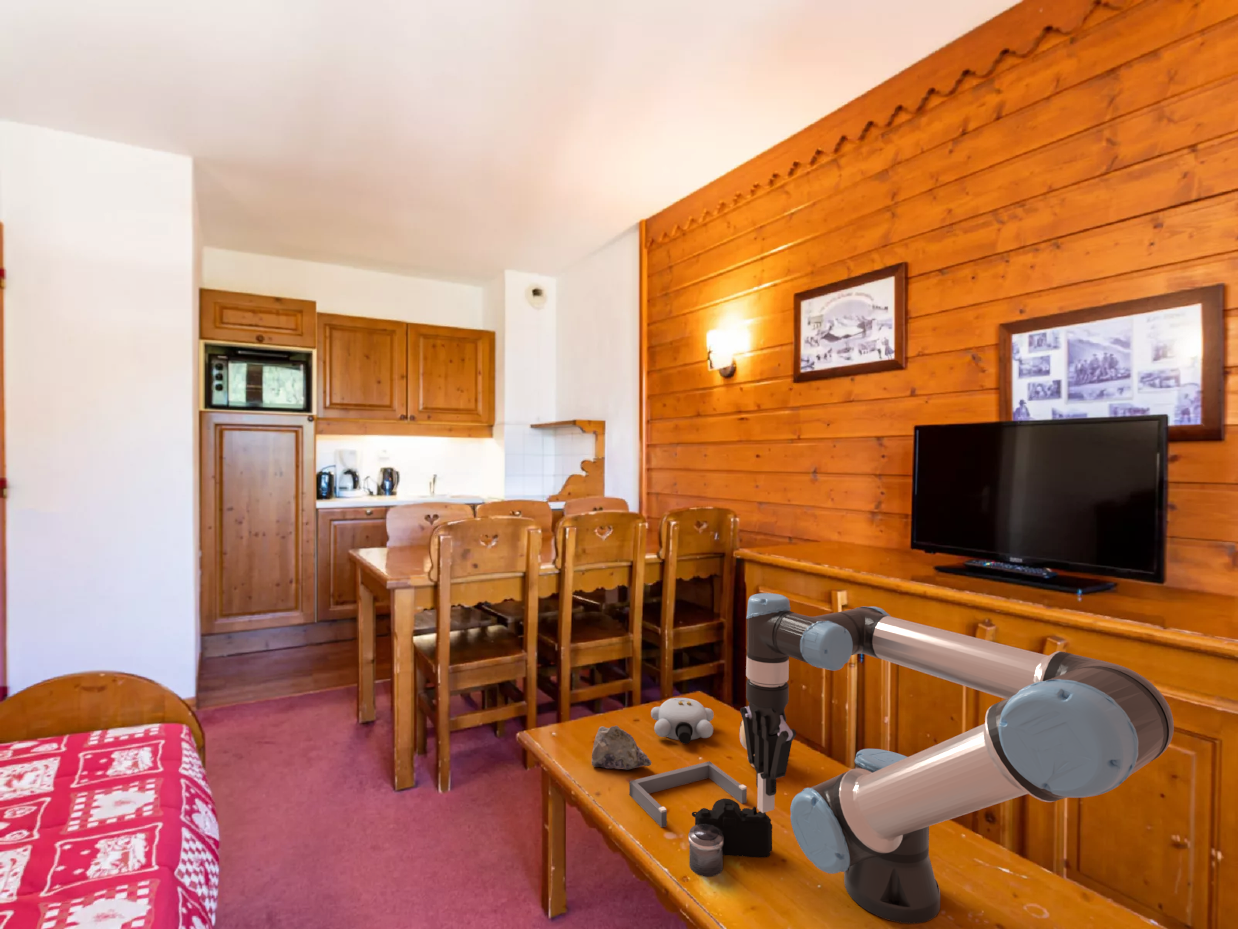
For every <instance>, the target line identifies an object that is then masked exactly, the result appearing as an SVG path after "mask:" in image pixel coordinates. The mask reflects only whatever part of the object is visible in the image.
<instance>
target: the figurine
mask: <svg viewBox="0 0 1238 929" xmlns="http://www.w3.org/2000/svg"><path fill="white" fill-rule="evenodd" d="M714 714H715V713H714V711H713V710H712V709H711V708H710V707H709V708H708V707H704V705H703V704H702V703H701V702H699V701H697V700H696V699H692V698H688V697H675V698H674V697H673V698H668V699H667V700H665V701H664V702H663V703H661V705H660V706H655V707H652V708H651V711H650V717H651V718H652V719H653V720H655V721H656V722H655V724H654V729H653V730H654V732H655V734H656V735H657V736H658V737H662V738H665V737H667V738H669V739H672V740H676V741H679V742H680V743H681V744H682V745H687V744H689V743H690V742H691V741H695V740H697V739H699V738H702V739H708V738H710V737H711V736H713V733H714V726H713V725H712V723H711V721H712V720H713V719H714V716H715V715H714Z"/></svg>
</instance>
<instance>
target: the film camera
mask: <svg viewBox="0 0 1238 929" xmlns="http://www.w3.org/2000/svg"><path fill="white" fill-rule="evenodd" d="M691 816H692V817H694V826H695V825H698V824H710V825H713V826H716V827H717V828H719V829H720V830H721V831H722V834H723V837H724V844H723V856H729V857H740V858H741V857H744V858H746V857H747V858H768V857H769V856H770V855H771V852H772V851H773V824H772V819H771V818H770V817H769V815H767V812H764V813H762V812H761V811H759V810H758V809H757V807H756V806H753V808H750V807H743V808H741V807H740V804H739V803H738V802H736V801H735V800H733V799H731V798H726V797H725V798H721V799H718V800H717V801H715V802H714V803H713V805H712V809H708V808H707V807H706V808H705V807H702V808H700V810H698V811H692V813H691Z"/></svg>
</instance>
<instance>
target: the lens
mask: <svg viewBox="0 0 1238 929" xmlns="http://www.w3.org/2000/svg"><path fill="white" fill-rule="evenodd" d="M687 839H688V844H689V868H690V870H691V871H692V872H693V873H694V874H695V875H697V876H701V877H706V878H712V877H715V876H718V875H719V874H721V873H722V872H723V866H724V865H723V859H724V858H723V856H724V855H723V844H724V837H723V834H722V831H721V830H720V829H719V828H717V827H716V826H713V825H710V824H698V825H695V824H694V826H692V827H691V828H690V829H689V833H688V838H687Z"/></svg>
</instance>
